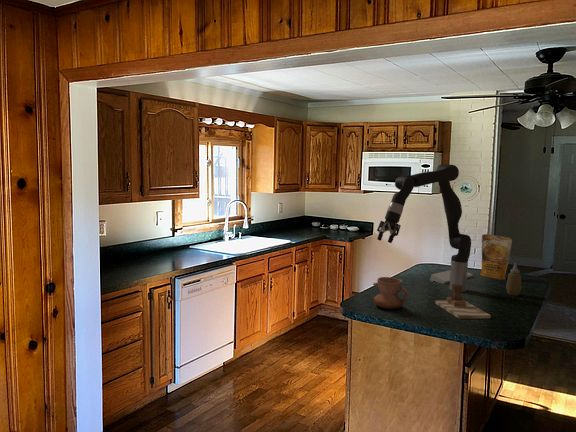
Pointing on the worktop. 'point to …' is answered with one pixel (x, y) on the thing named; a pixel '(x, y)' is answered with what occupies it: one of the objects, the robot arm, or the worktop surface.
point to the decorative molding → (444, 277)
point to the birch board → (463, 310)
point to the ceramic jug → (389, 293)
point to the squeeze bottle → (514, 281)
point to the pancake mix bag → (495, 256)
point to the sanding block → (456, 296)
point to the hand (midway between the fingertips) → (384, 241)
